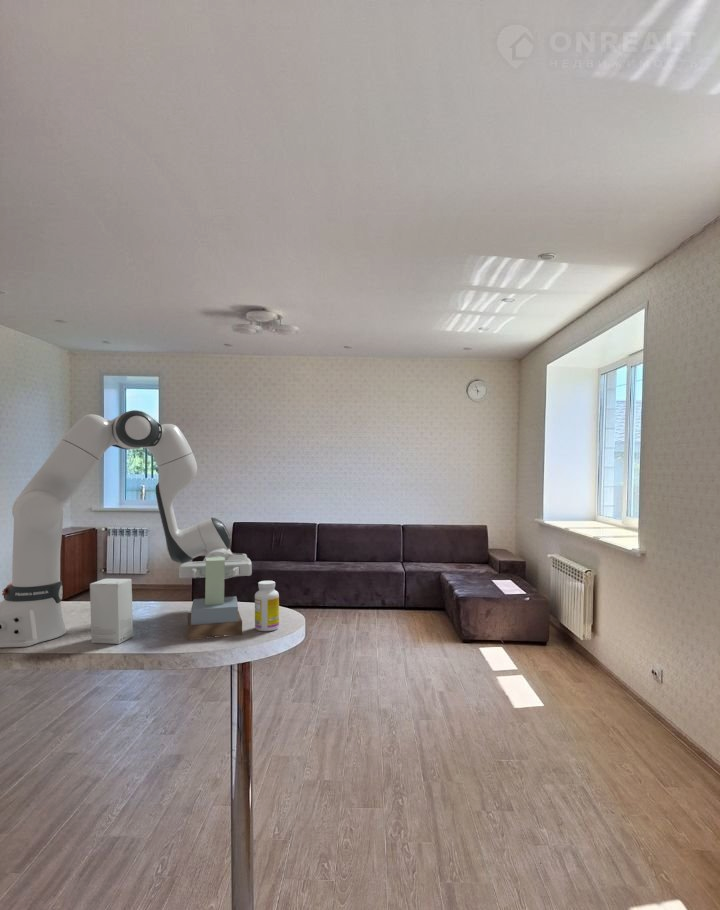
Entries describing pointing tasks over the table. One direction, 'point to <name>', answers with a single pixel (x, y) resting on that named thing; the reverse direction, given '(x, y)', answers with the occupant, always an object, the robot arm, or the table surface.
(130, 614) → the skincare box
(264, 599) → the supplement bottle
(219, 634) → the tower bottom block
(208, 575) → the sage block
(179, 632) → the table surface
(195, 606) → the tower top block
